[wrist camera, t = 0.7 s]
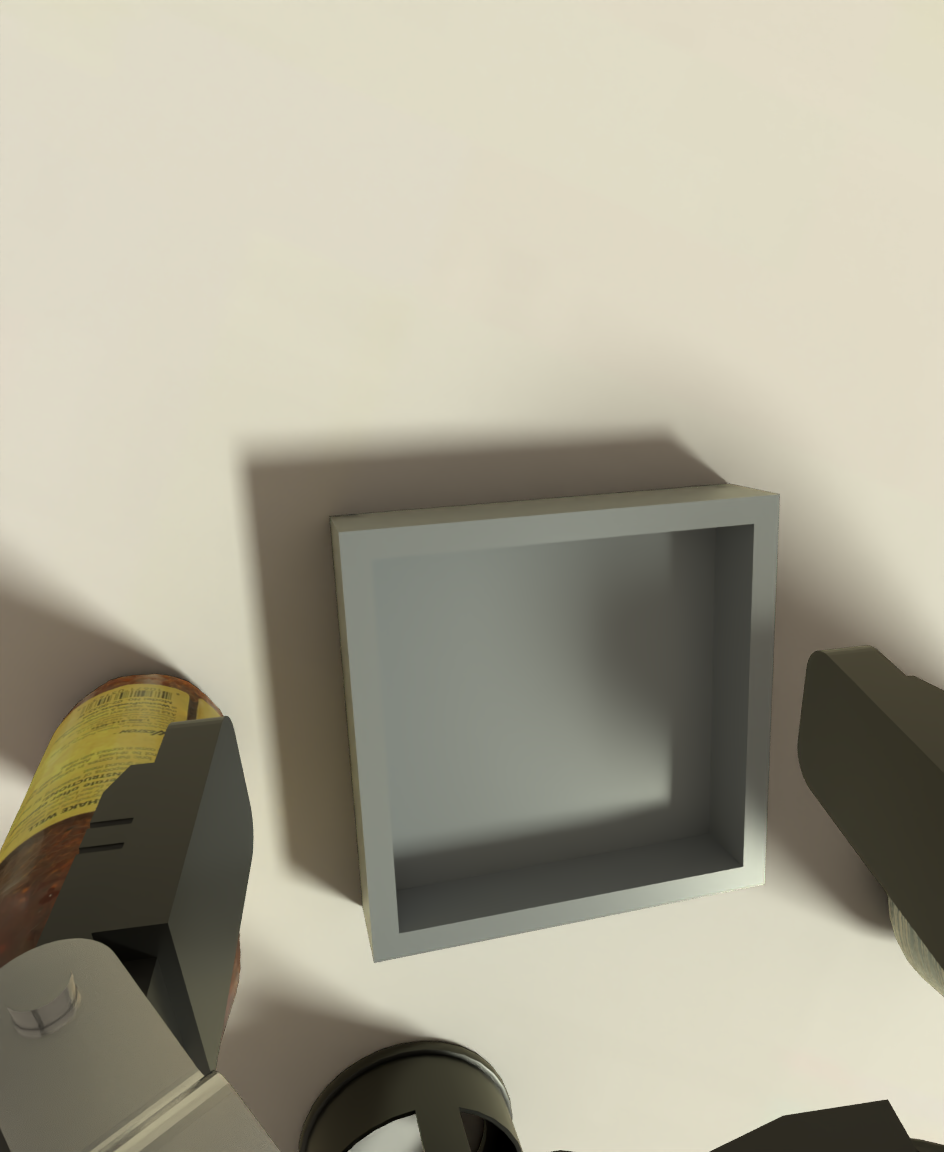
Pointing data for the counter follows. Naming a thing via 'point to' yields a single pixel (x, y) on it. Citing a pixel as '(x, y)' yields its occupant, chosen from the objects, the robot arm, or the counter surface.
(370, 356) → the counter surface
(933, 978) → the vase
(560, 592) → the tray
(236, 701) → the counter surface
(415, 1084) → the french press
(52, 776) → the sauce bottle
